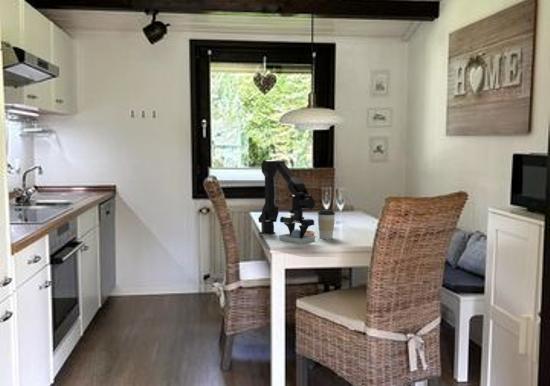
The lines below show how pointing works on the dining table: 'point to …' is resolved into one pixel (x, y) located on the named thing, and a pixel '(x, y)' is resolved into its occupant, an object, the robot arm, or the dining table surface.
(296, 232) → the ball
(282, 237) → the shallow serving tray
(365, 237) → the dining table surface
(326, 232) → the coffee cup
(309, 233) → the bowl
